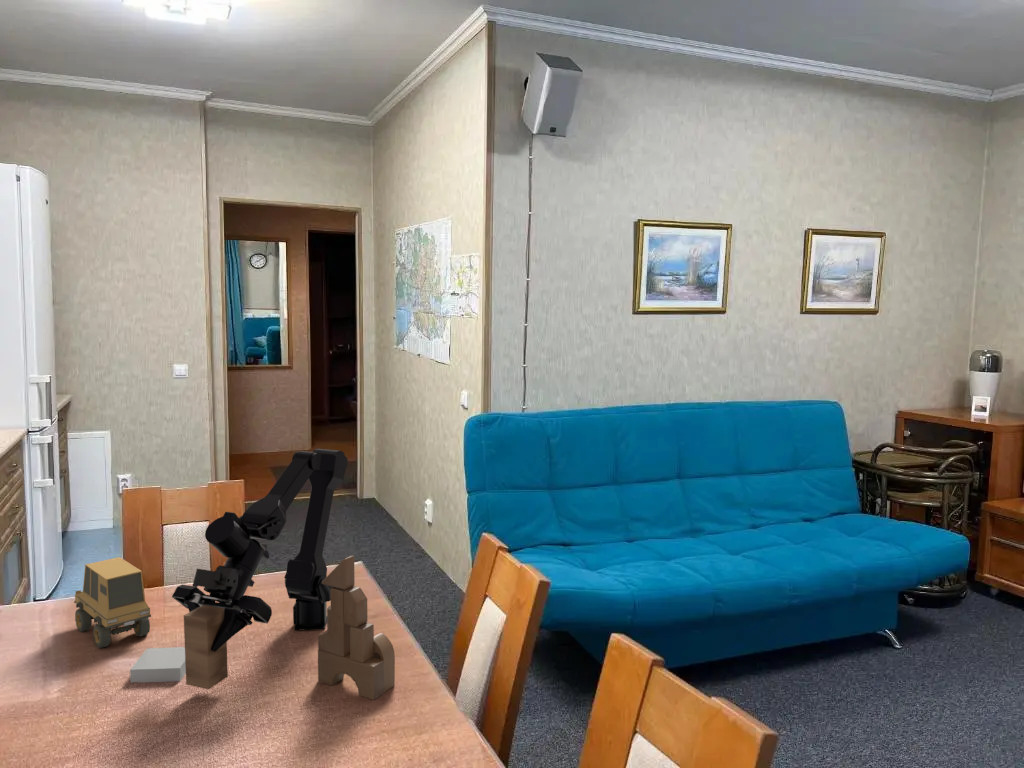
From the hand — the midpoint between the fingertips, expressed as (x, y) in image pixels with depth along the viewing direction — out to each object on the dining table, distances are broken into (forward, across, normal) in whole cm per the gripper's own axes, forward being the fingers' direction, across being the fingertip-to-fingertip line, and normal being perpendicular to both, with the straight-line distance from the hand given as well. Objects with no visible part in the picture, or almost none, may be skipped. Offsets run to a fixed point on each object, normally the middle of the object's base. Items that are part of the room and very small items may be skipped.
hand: (200, 648), depth 141 cm
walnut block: (+4, 0, +6) cm, 7 cm away
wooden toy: (-4, +22, +18) cm, 29 cm away
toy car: (-4, -37, +18) cm, 41 cm away
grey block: (+3, -14, +11) cm, 18 cm away
